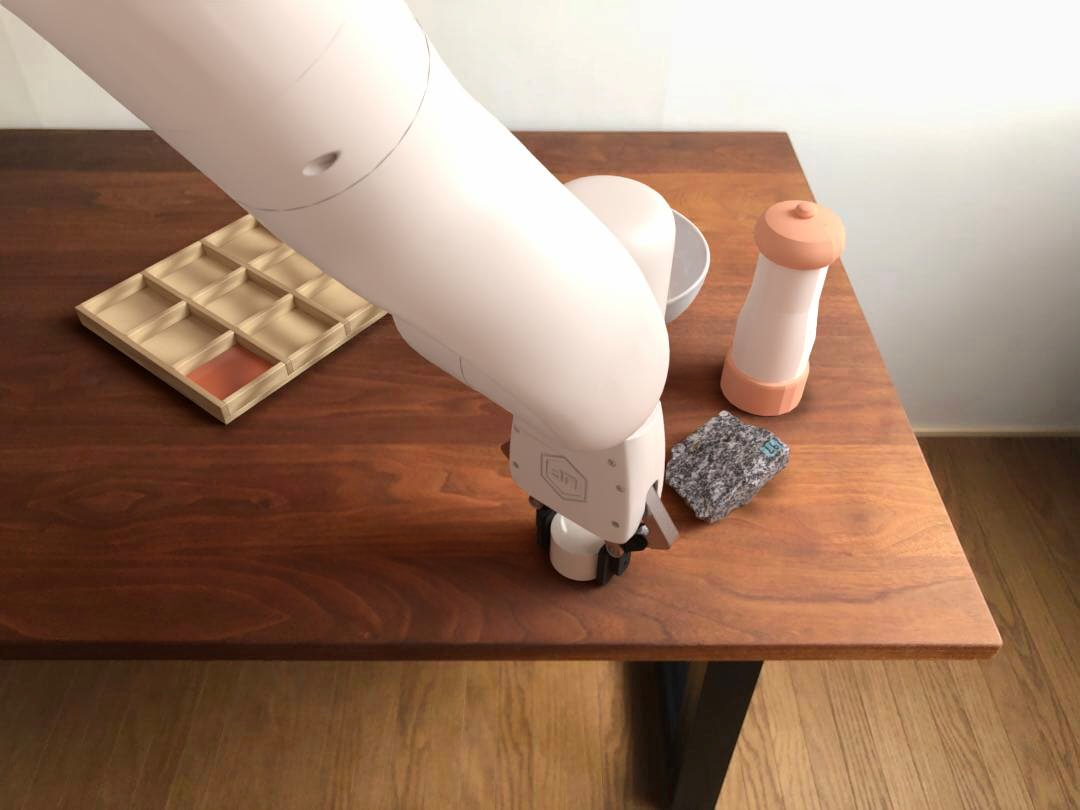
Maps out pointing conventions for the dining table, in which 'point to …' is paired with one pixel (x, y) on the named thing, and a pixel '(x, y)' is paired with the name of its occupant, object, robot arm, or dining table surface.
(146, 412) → the dining table surface
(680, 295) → the serving bowl
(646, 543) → the robot arm
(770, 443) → the rock
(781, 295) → the pepper shaker
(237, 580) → the dining table surface
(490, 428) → the dining table surface
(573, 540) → the white cylinder puck
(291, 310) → the wooden compartment tray
